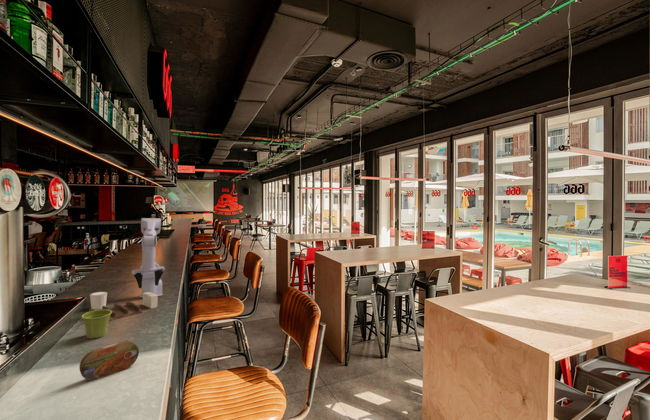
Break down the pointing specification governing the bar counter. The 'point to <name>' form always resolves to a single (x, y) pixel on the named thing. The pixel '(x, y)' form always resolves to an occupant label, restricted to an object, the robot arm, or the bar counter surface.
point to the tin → (108, 360)
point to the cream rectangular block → (150, 300)
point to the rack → (122, 310)
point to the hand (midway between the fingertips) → (148, 286)
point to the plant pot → (96, 323)
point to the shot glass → (98, 300)
